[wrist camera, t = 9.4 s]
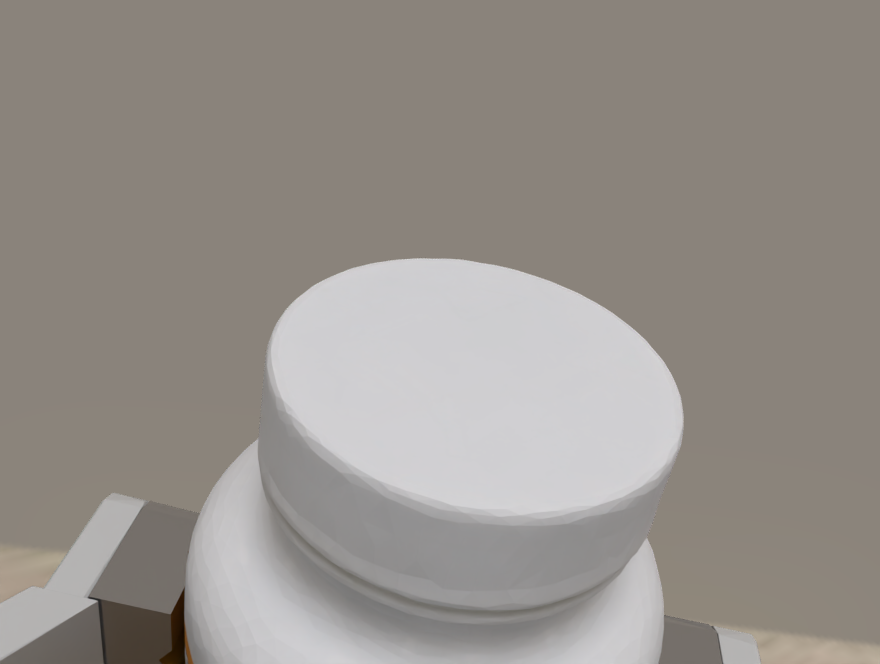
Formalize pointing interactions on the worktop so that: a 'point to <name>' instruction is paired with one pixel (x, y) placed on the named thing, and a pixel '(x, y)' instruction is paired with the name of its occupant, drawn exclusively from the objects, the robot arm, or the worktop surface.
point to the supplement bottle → (441, 481)
